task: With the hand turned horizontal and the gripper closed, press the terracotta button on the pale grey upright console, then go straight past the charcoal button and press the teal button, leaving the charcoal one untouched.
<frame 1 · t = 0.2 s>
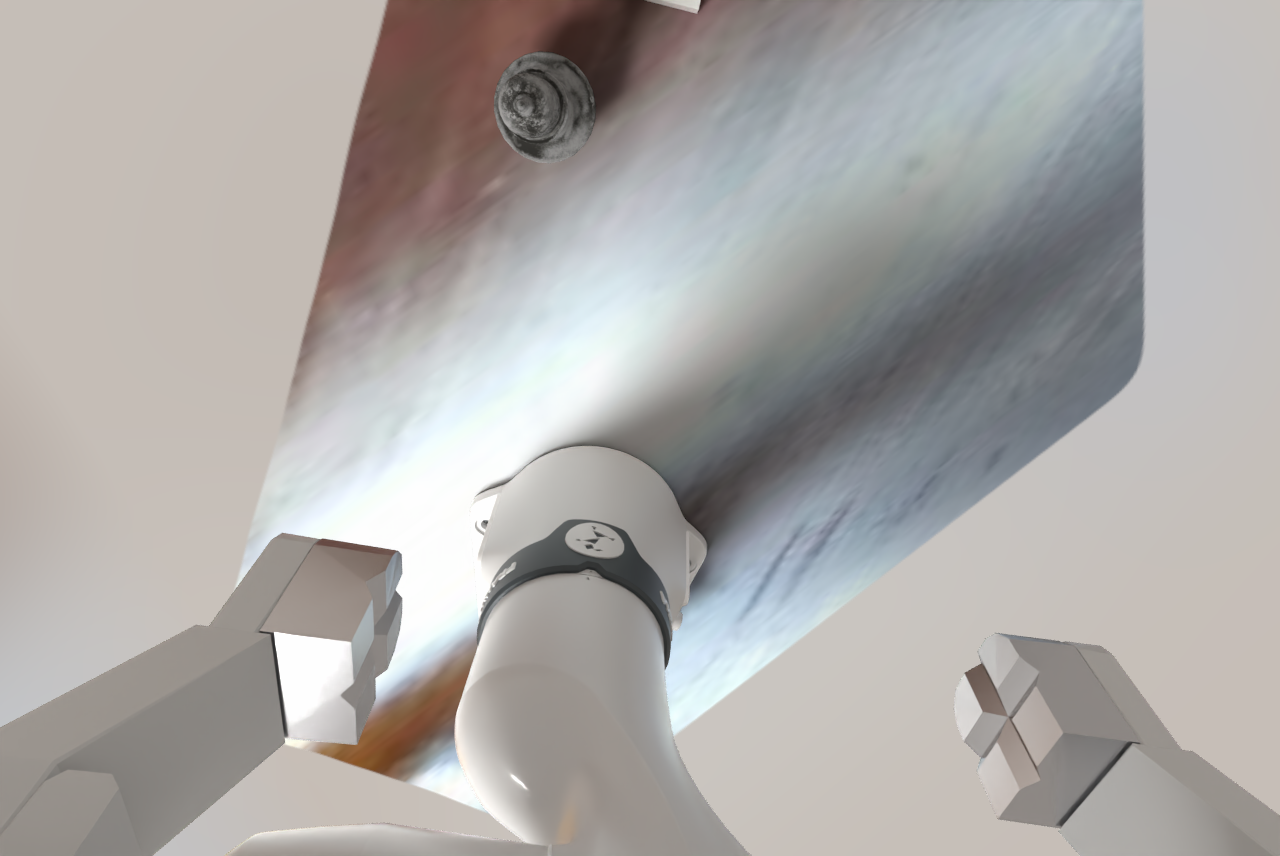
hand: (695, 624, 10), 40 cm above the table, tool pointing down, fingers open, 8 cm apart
dark grey upright piece: (552, 110, 44), on the table
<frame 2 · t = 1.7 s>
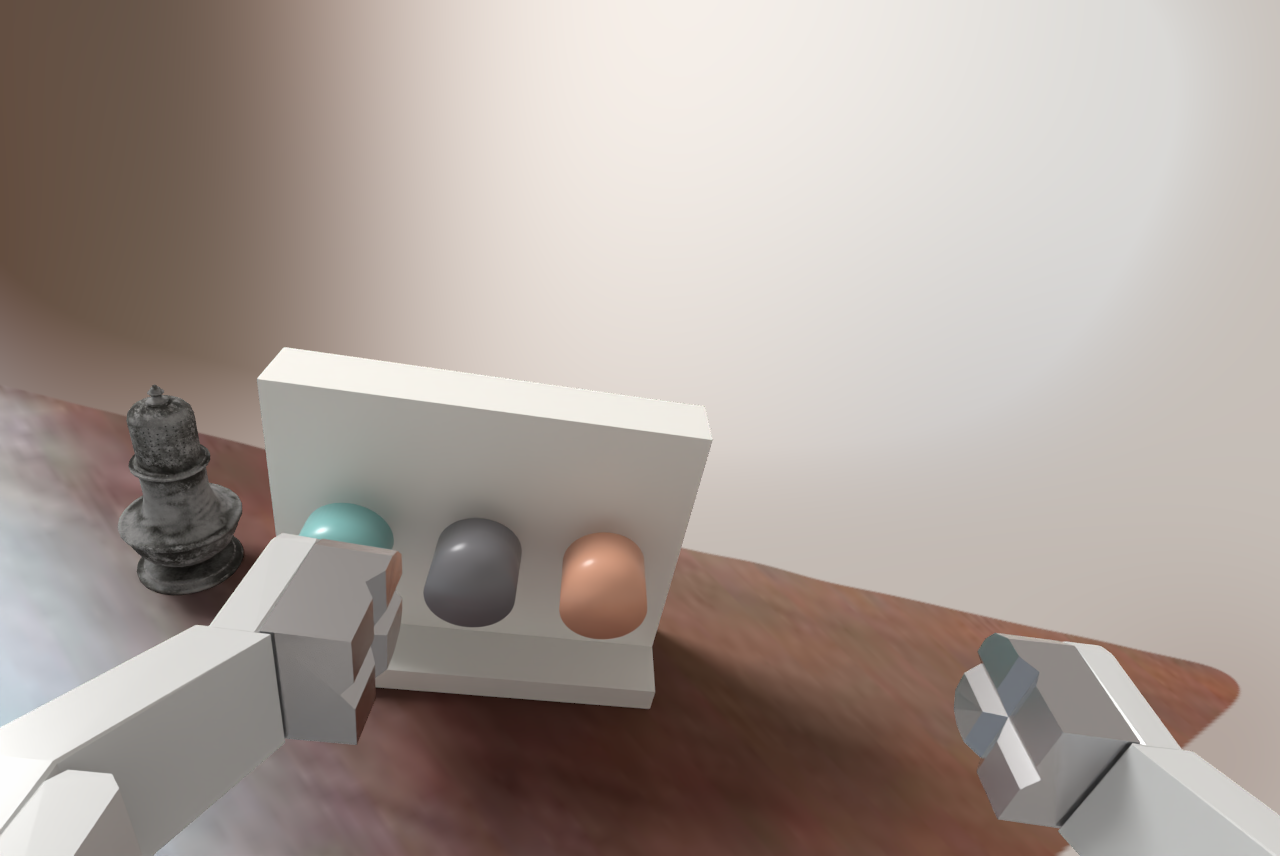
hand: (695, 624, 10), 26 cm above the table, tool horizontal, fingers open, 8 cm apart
terracotta button: (603, 585, 33), point 9 cm above the table, slide at 0.0 cm
charcoal button: (474, 572, 32), point 9 cm above the table, slide at 0.0 cm
teal button: (339, 558, 31), point 9 cm above the table, slide at 0.0 cm
console: (477, 627, 41), on the table
dark grey upright piece: (192, 563, 41), on the table
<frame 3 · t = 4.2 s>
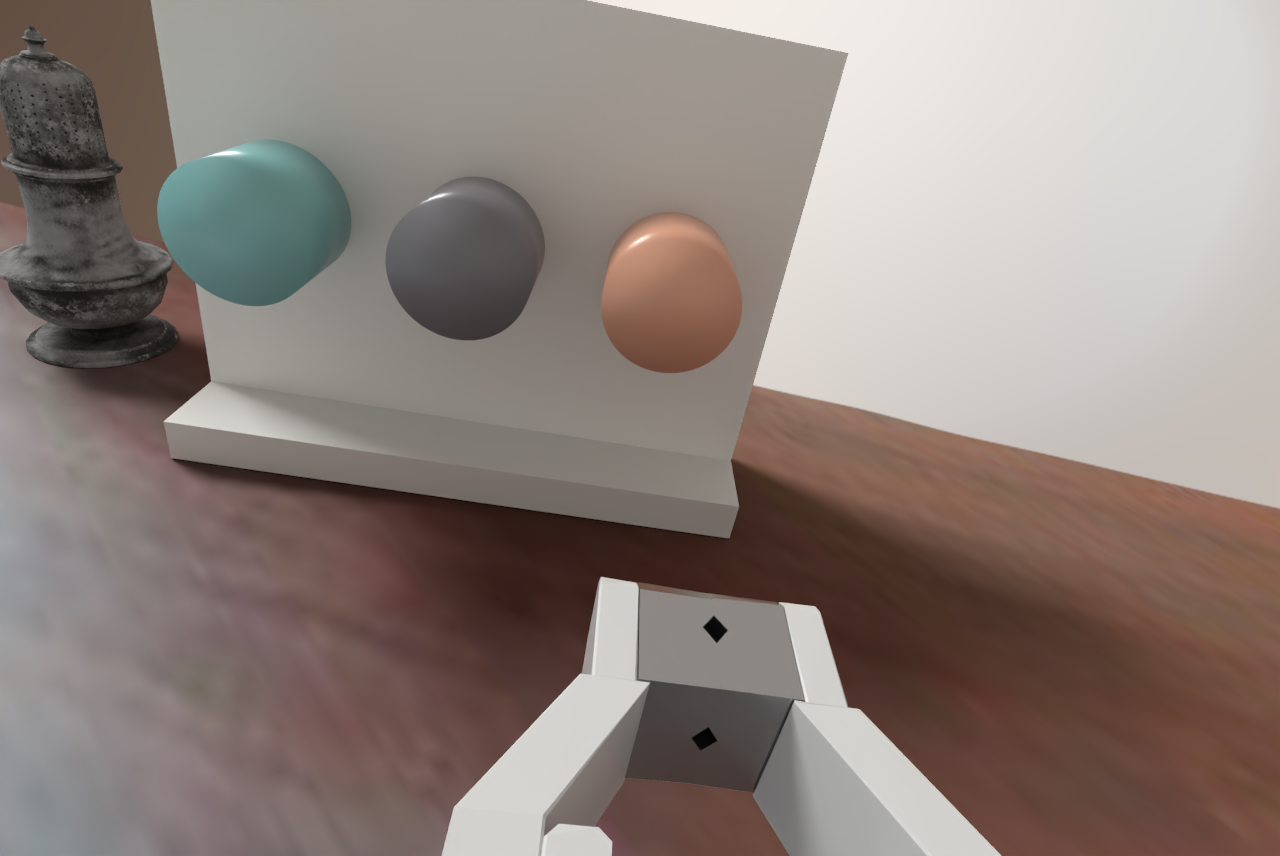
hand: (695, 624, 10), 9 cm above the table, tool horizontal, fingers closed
terracotta button: (670, 291, 21), point 9 cm above the table, slide at 0.0 cm
charcoal button: (470, 257, 21), point 9 cm above the table, slide at 0.0 cm
teal button: (261, 221, 20), point 9 cm above the table, slide at 0.0 cm
console: (484, 434, 29), on the table
dark grey upright piece: (106, 344, 30), on the table
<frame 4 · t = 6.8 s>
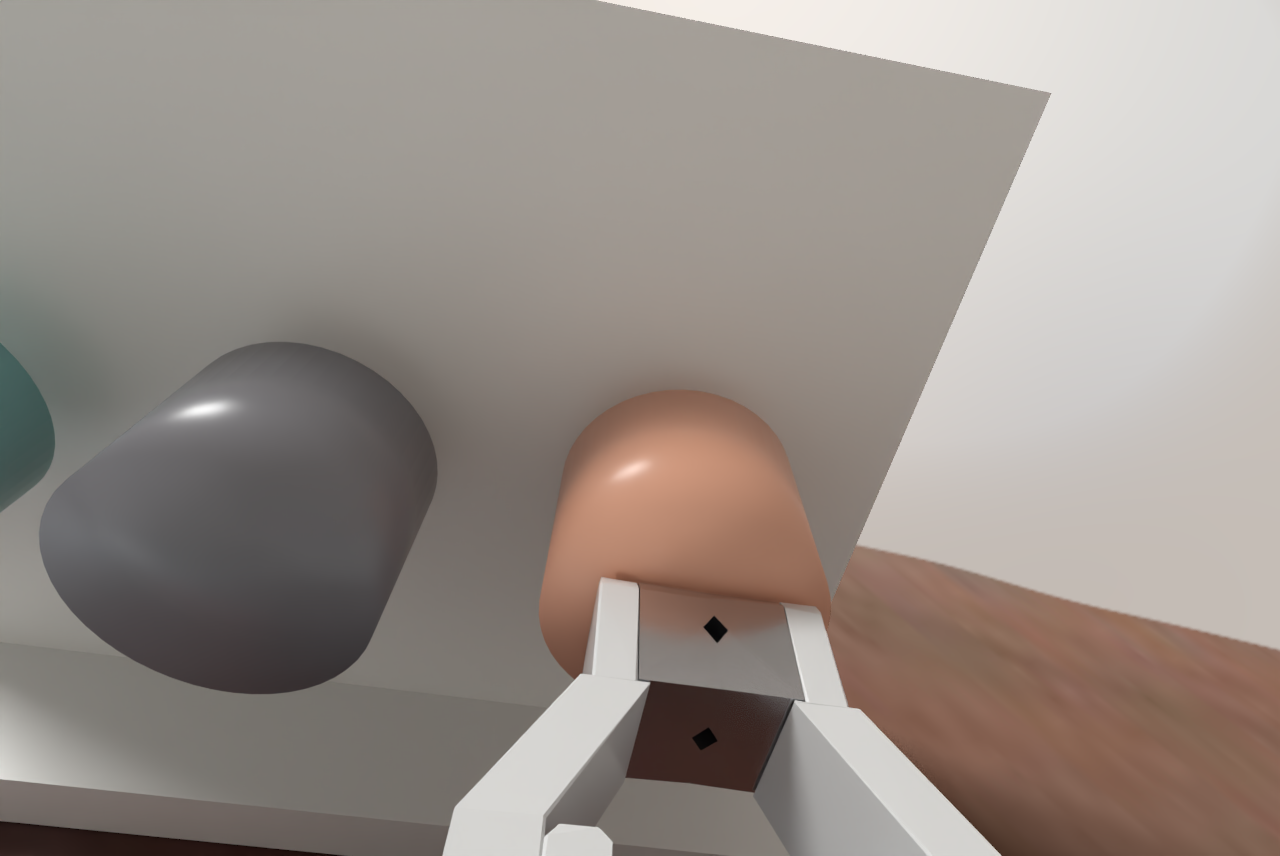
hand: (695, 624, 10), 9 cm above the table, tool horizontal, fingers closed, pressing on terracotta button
terracotta button: (679, 547, 11), point 9 cm above the table, slide at 0.5 cm, touching gripper
charcoal button: (269, 513, 10), point 9 cm above the table, slide at 0.0 cm
console: (381, 675, 18), on the table
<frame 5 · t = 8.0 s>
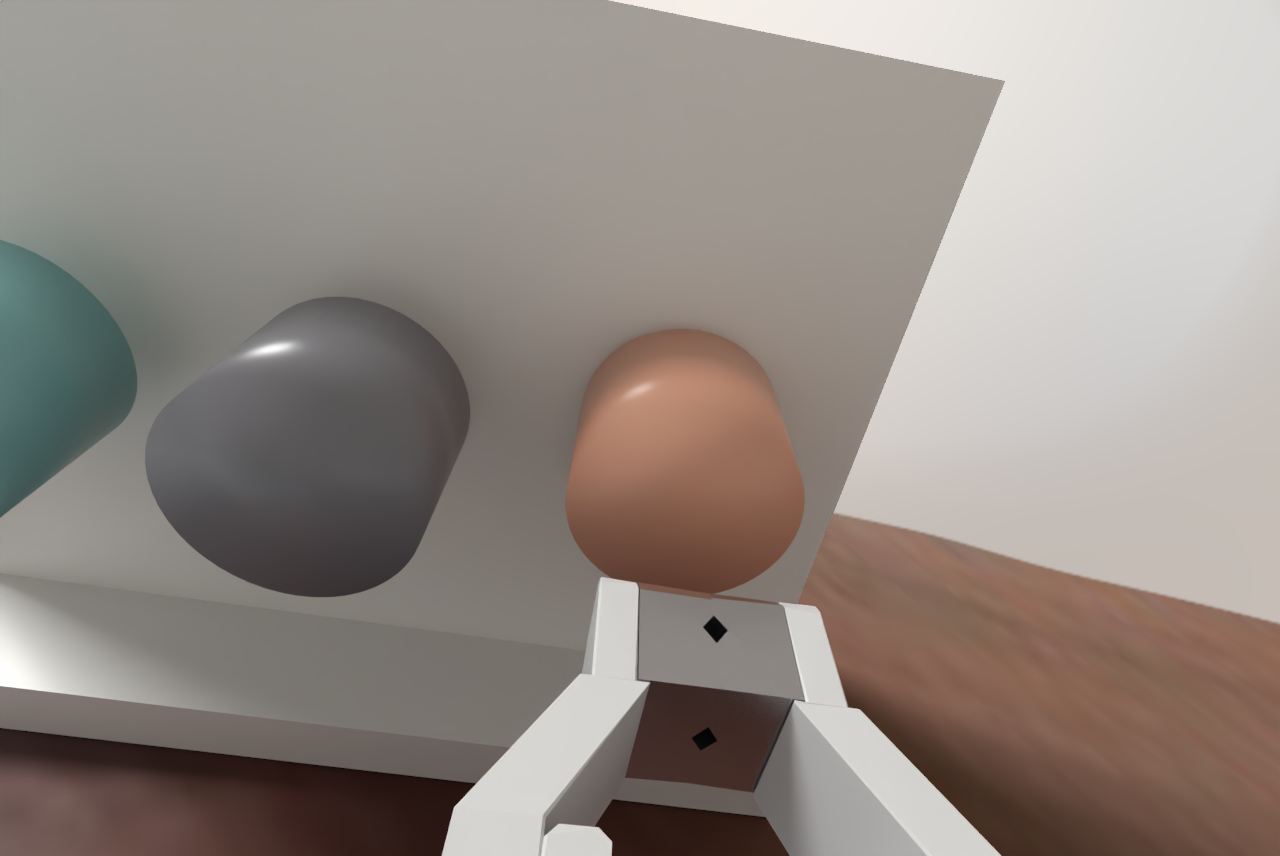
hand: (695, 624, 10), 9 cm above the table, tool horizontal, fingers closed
terracotta button: (681, 460, 13), point 9 cm above the table, slide at 1.1 cm
charcoal button: (328, 443, 12), point 9 cm above the table, slide at 0.0 cm
console: (408, 622, 20), on the table
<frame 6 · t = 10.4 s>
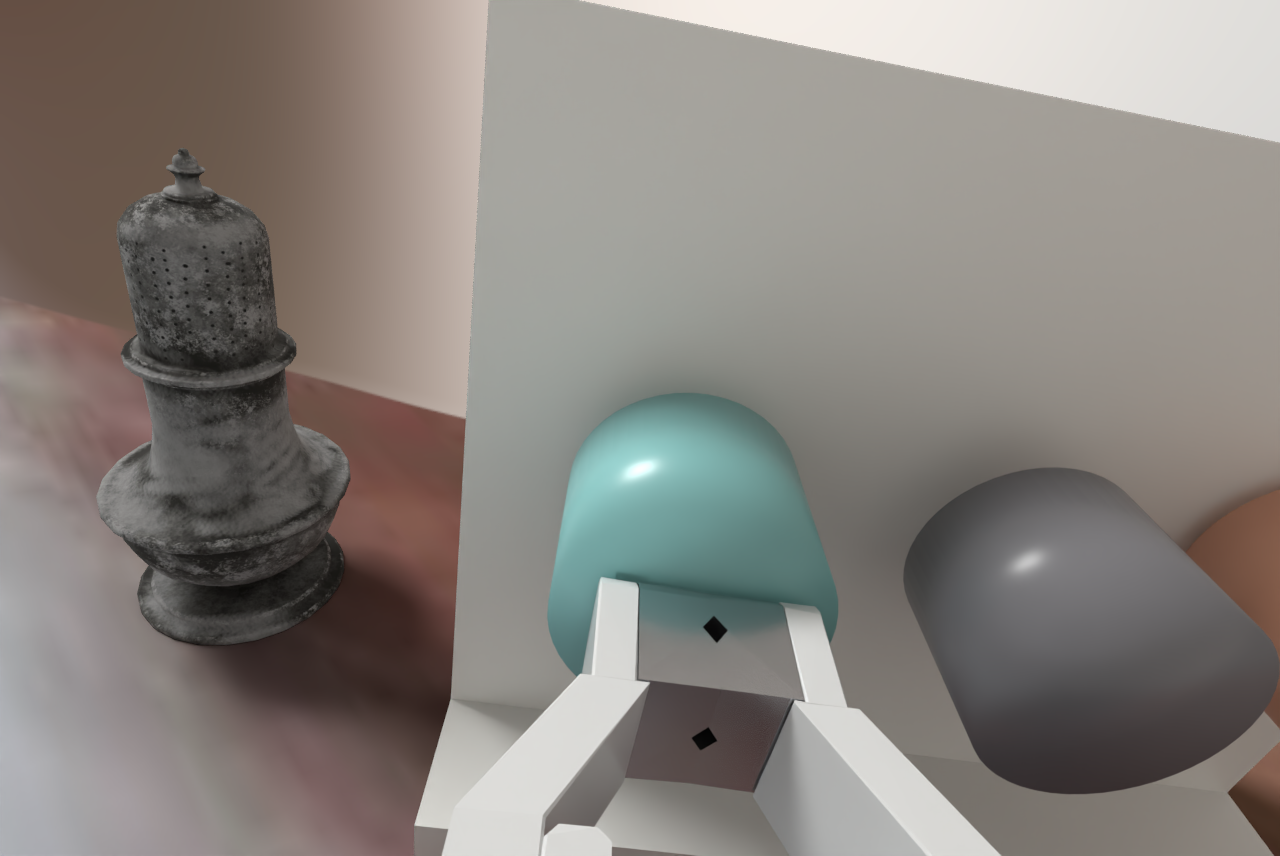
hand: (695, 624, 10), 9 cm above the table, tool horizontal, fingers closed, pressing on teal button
charcoal button: (1063, 626, 11), point 9 cm above the table, slide at 0.0 cm
teal button: (686, 550, 11), point 9 cm above the table, slide at 0.6 cm, touching gripper
console: (825, 732, 19), on the table
dark grey upright piece: (247, 579, 21), on the table
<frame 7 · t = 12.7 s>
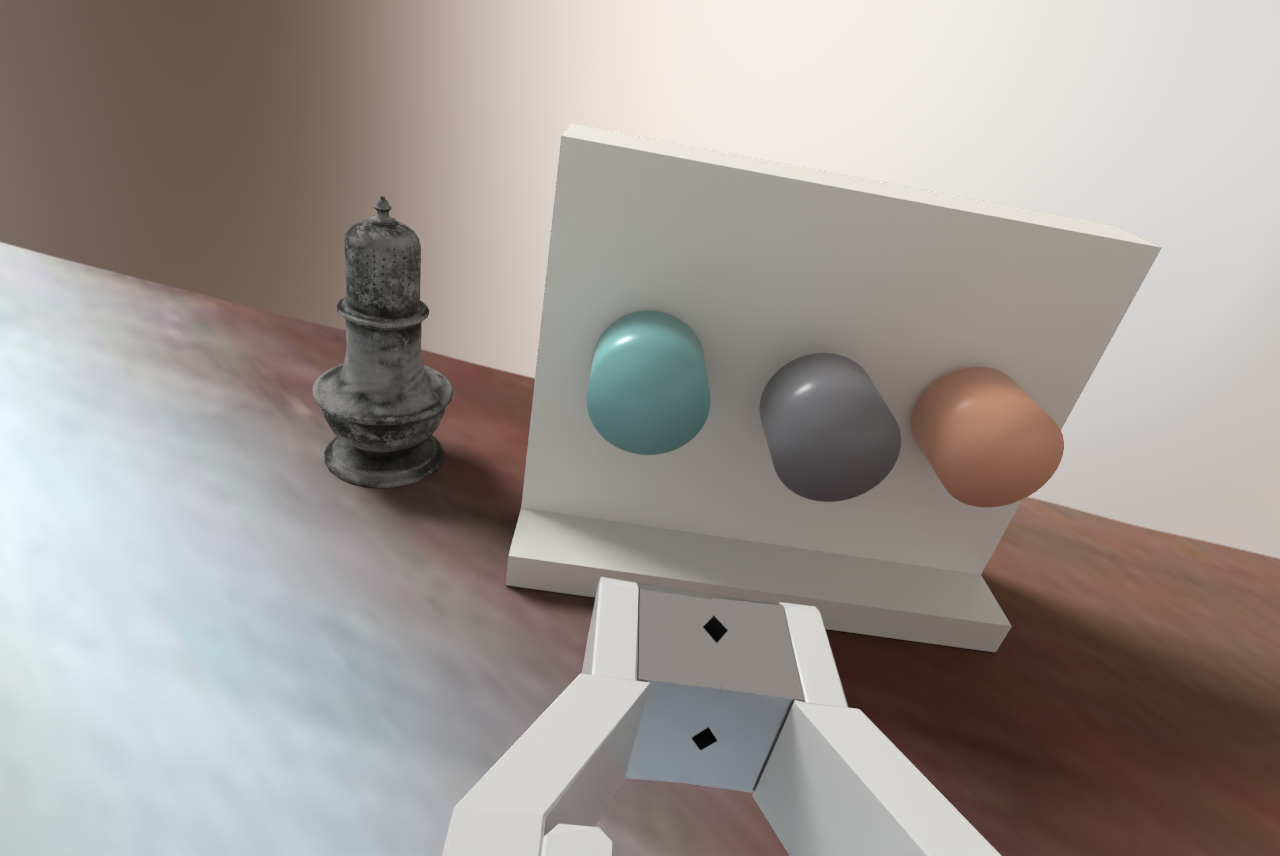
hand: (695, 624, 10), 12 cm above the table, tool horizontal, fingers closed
terracotta button: (982, 436, 25), point 9 cm above the table, slide at 1.1 cm
charcoal button: (825, 426, 23), point 9 cm above the table, slide at 0.0 cm
teal button: (648, 382, 24), point 9 cm above the table, slide at 1.2 cm
console: (744, 546, 32), on the table
dark grey upright piece: (385, 458, 33), on the table
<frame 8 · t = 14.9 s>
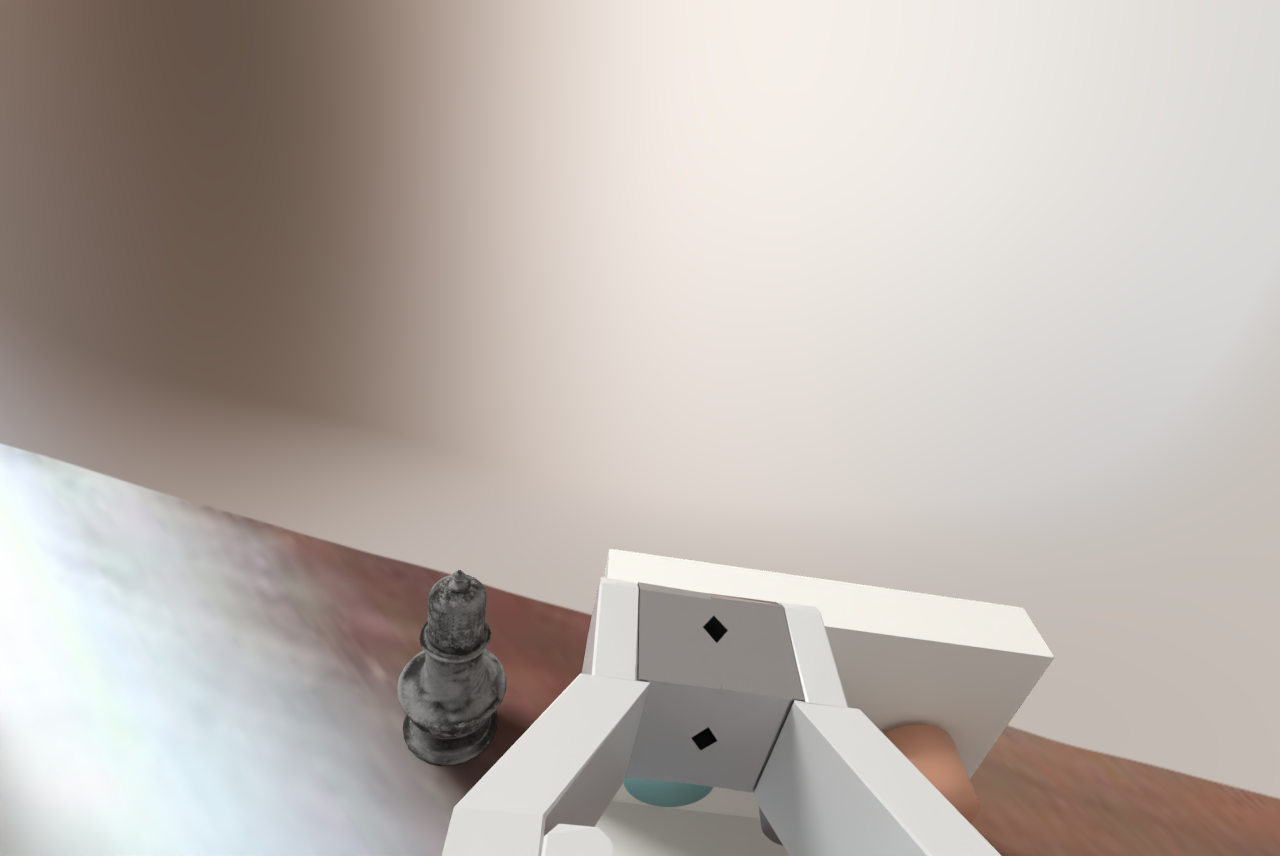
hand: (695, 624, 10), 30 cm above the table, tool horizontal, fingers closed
terracotta button: (922, 780, 32), point 9 cm above the table, slide at 1.1 cm
charcoal button: (801, 789, 31), point 9 cm above the table, slide at 0.0 cm
teal button: (668, 748, 32), point 9 cm above the table, slide at 1.2 cm
console: (740, 806, 39), on the table
dark grey upright piece: (450, 725, 41), on the table
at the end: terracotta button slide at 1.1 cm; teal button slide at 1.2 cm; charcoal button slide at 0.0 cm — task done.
